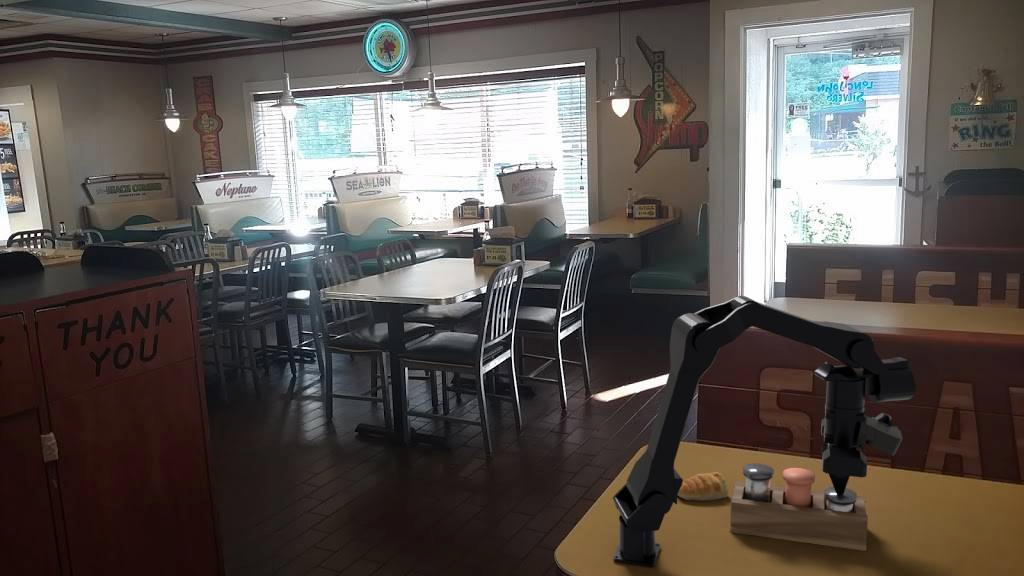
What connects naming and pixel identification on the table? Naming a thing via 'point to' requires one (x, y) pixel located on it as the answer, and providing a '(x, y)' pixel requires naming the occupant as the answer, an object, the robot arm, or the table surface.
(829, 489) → the plunger
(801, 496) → the pink stopper
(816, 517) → the brown wooden rack
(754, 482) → the plunger
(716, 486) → the pastry
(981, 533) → the table surface
